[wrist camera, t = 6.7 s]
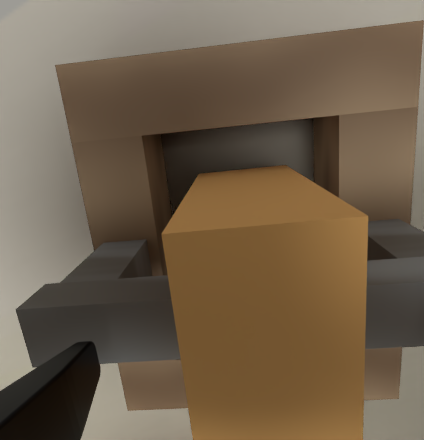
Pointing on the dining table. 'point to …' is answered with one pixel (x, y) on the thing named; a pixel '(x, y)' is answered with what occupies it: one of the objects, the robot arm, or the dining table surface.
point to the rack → (219, 118)
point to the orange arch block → (269, 306)
